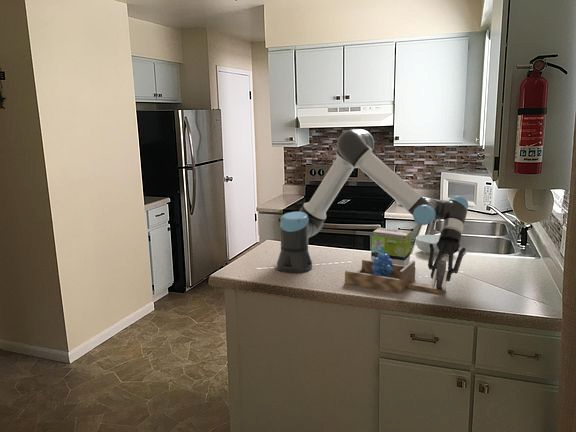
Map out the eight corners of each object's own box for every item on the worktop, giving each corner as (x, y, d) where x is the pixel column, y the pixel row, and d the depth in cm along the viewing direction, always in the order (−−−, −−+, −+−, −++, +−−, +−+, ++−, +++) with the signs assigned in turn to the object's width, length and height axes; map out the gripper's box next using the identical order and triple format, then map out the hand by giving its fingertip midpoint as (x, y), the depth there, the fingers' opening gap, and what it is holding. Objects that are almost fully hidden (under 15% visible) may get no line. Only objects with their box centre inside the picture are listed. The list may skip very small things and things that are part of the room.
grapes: (381, 288, 184) (382, 257, 182) (367, 283, 189) (368, 253, 187) (400, 281, 191) (401, 251, 189) (386, 277, 196) (387, 248, 194)
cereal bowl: (442, 260, 220) (443, 244, 219) (408, 253, 231) (409, 239, 229) (457, 252, 233) (458, 237, 231) (424, 246, 243) (425, 232, 242)
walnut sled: (450, 285, 186) (451, 256, 184) (438, 300, 171) (439, 268, 169) (362, 271, 204) (363, 244, 202) (344, 283, 189) (345, 254, 187)
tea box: (370, 264, 214) (371, 231, 212) (377, 258, 223) (378, 226, 220) (404, 269, 208) (405, 235, 205) (410, 262, 216) (411, 230, 213)
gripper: (474, 240, 185) (462, 296, 174) (431, 235, 193) (417, 288, 182) (472, 229, 180) (460, 286, 169) (428, 225, 188) (413, 278, 177)
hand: (437, 287), depth 176 cm, fingers closed on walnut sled, 3 cm apart
